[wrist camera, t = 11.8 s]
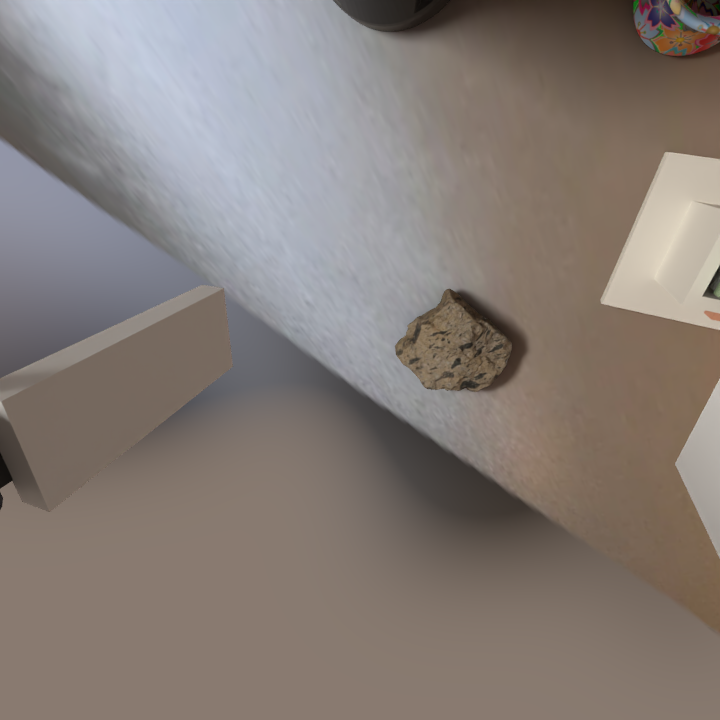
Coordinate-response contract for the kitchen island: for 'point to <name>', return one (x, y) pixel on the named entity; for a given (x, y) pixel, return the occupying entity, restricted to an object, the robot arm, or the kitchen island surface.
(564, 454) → the kitchen island surface
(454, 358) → the rock
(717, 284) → the column
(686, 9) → the mug
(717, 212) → the stand
